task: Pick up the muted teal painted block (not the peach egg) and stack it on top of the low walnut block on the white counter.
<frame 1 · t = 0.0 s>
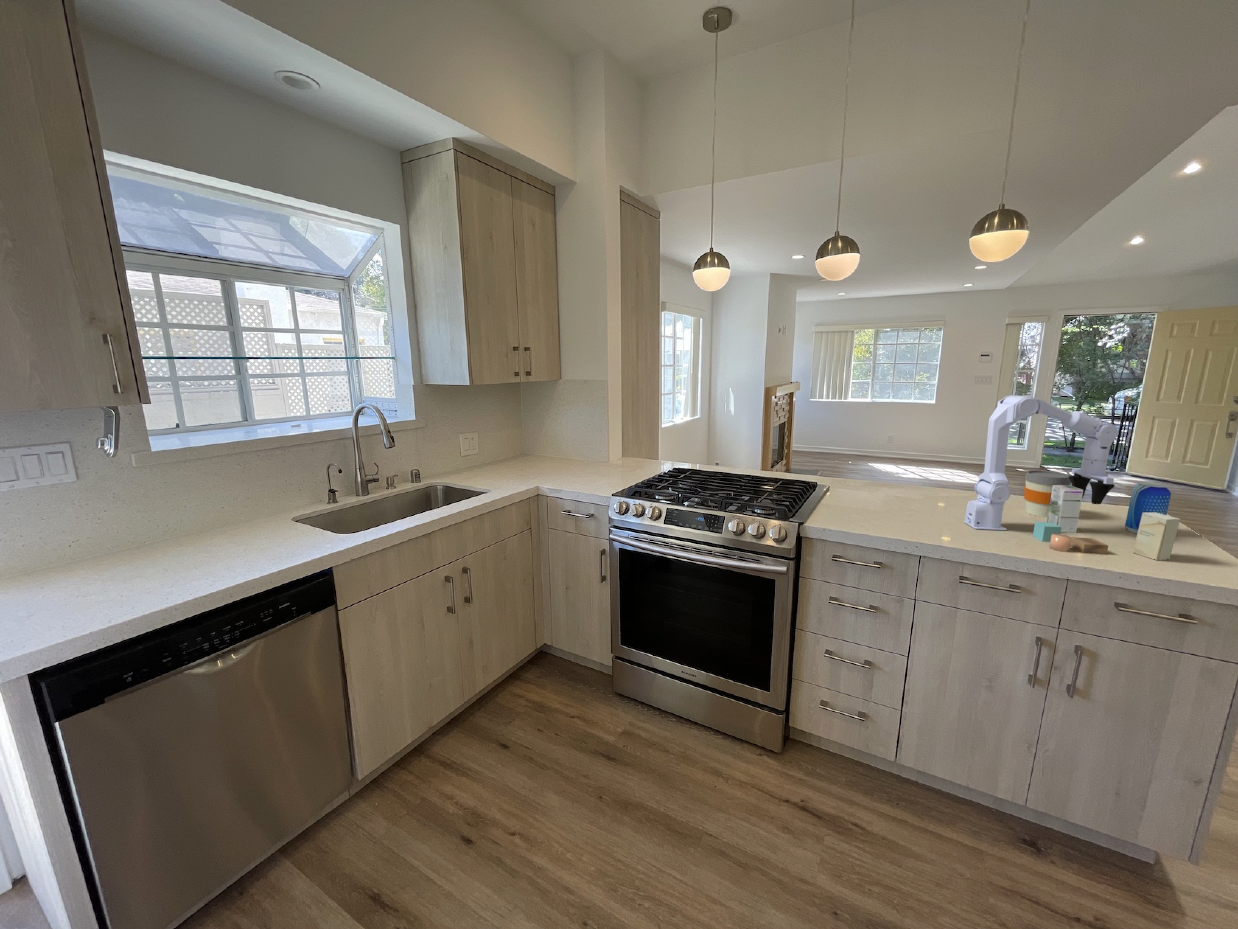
hand: (1087, 500, 158), 10 cm above the table, tool pointing down, fingers open, 7 cm apart
syrup box: (1060, 530, 161), on the table
beer can: (1142, 532, 158), on the table
walnut block: (1086, 550, 144), on the table
teal block: (1045, 539, 152), on the table
peach egg: (1059, 549, 144), on the table
reusable coffee cup: (1041, 514, 178), on the table
skincare box: (1151, 557, 138), on the table
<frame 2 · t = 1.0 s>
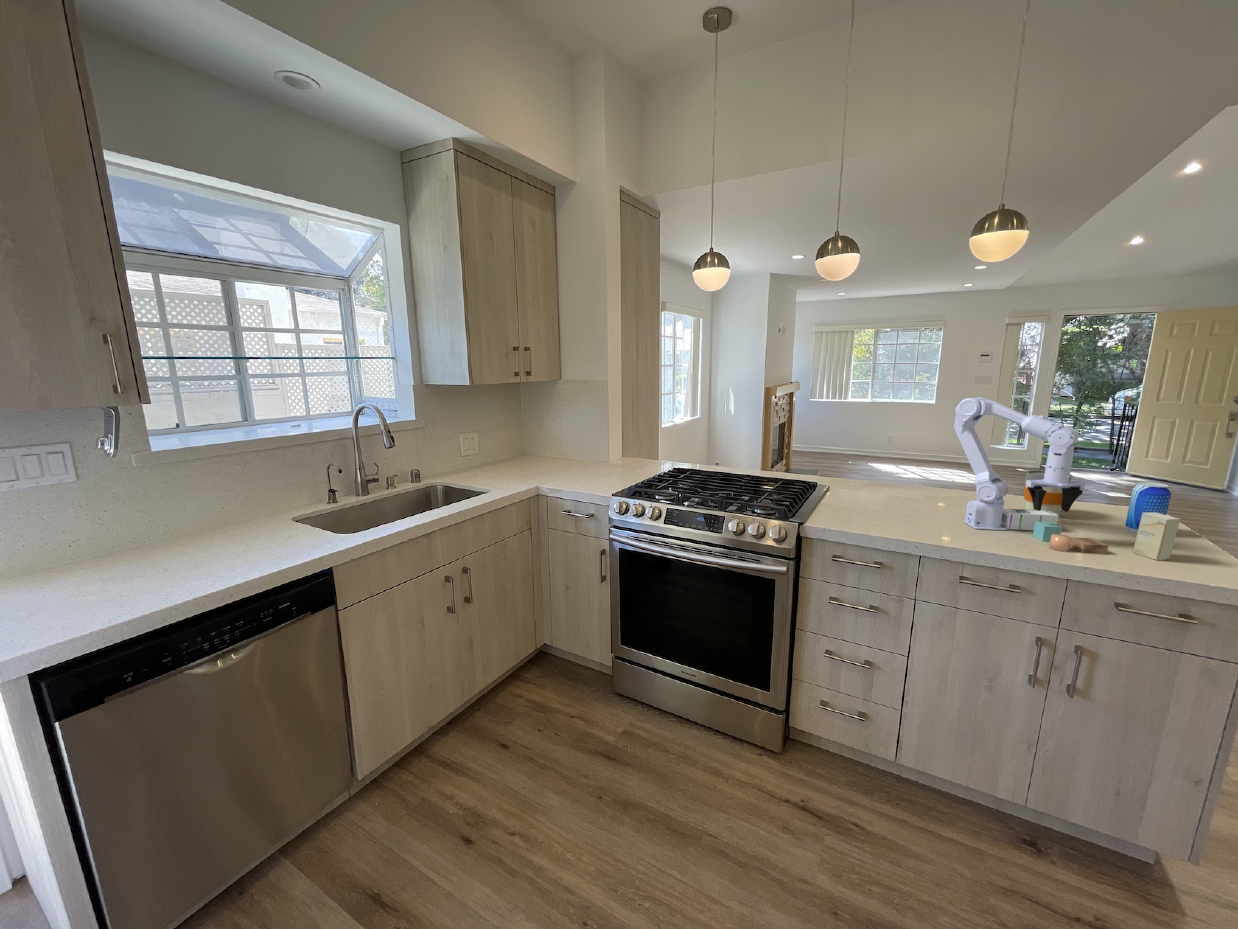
hand: (1050, 510, 151), 9 cm above the table, tool pointing down, fingers open, 7 cm apart
syrup box: (1052, 521, 161), point 3 cm above the table
everything else where it was.
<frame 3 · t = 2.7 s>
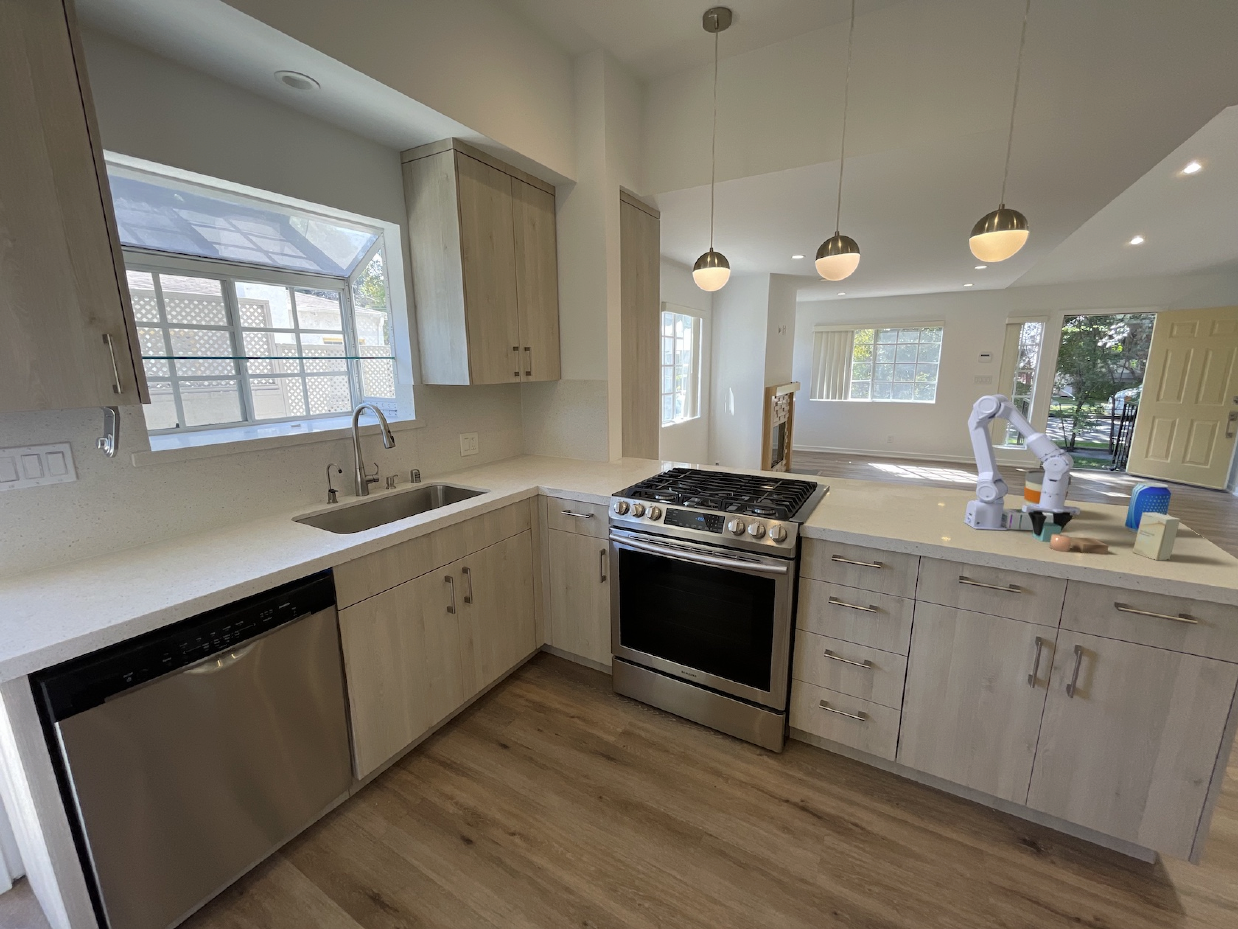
hand: (1046, 535, 152), 1 cm above the table, tool pointing down, fingers closed on teal block, 4 cm apart
teal block: (1045, 539, 152), on the table, touching gripper
everything else where it was.
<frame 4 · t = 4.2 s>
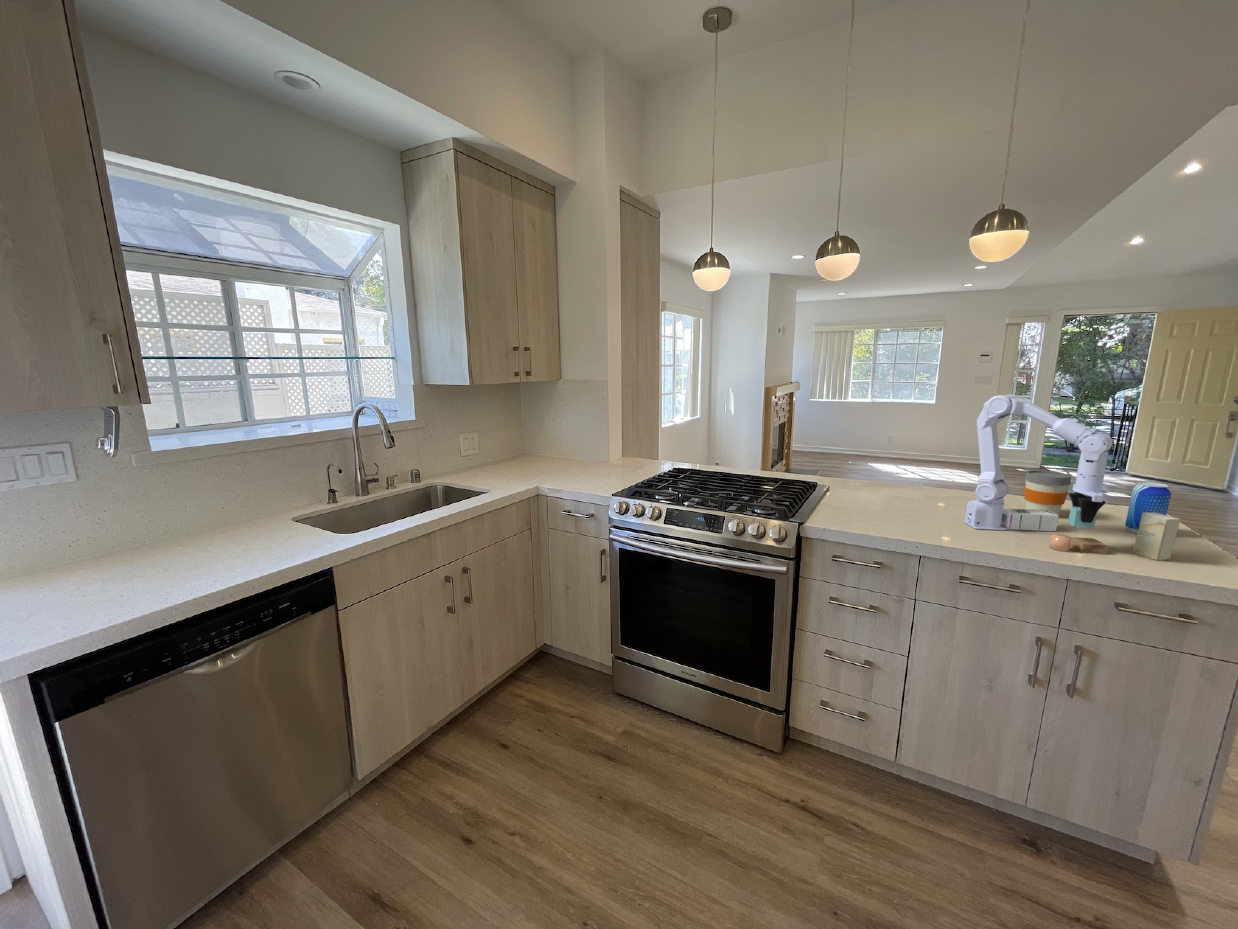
hand: (1082, 519, 144), 9 cm above the table, tool pointing down, fingers closed on teal block, 4 cm apart
teal block: (1080, 525, 144), point 7 cm above the table, touching gripper
everything else where it was.
when the fingers open (6 cm above the table, at t = 5.7 s): teal block drops 1 cm, point 3 cm above the table.
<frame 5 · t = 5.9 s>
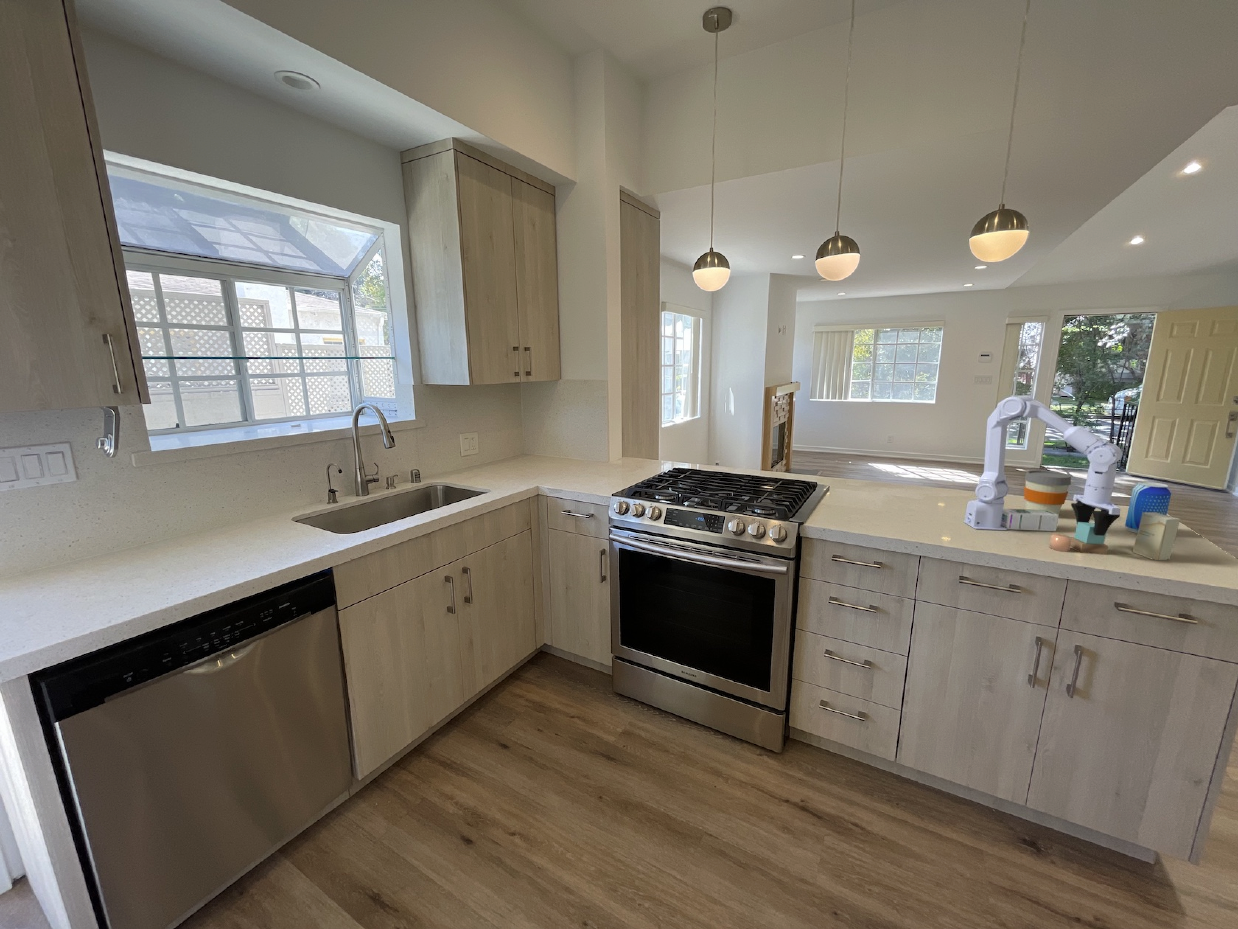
hand: (1090, 531, 143), 6 cm above the table, tool pointing down, fingers open, 6 cm apart
teal block: (1088, 541, 143), point 3 cm above the table
everything else where it was.
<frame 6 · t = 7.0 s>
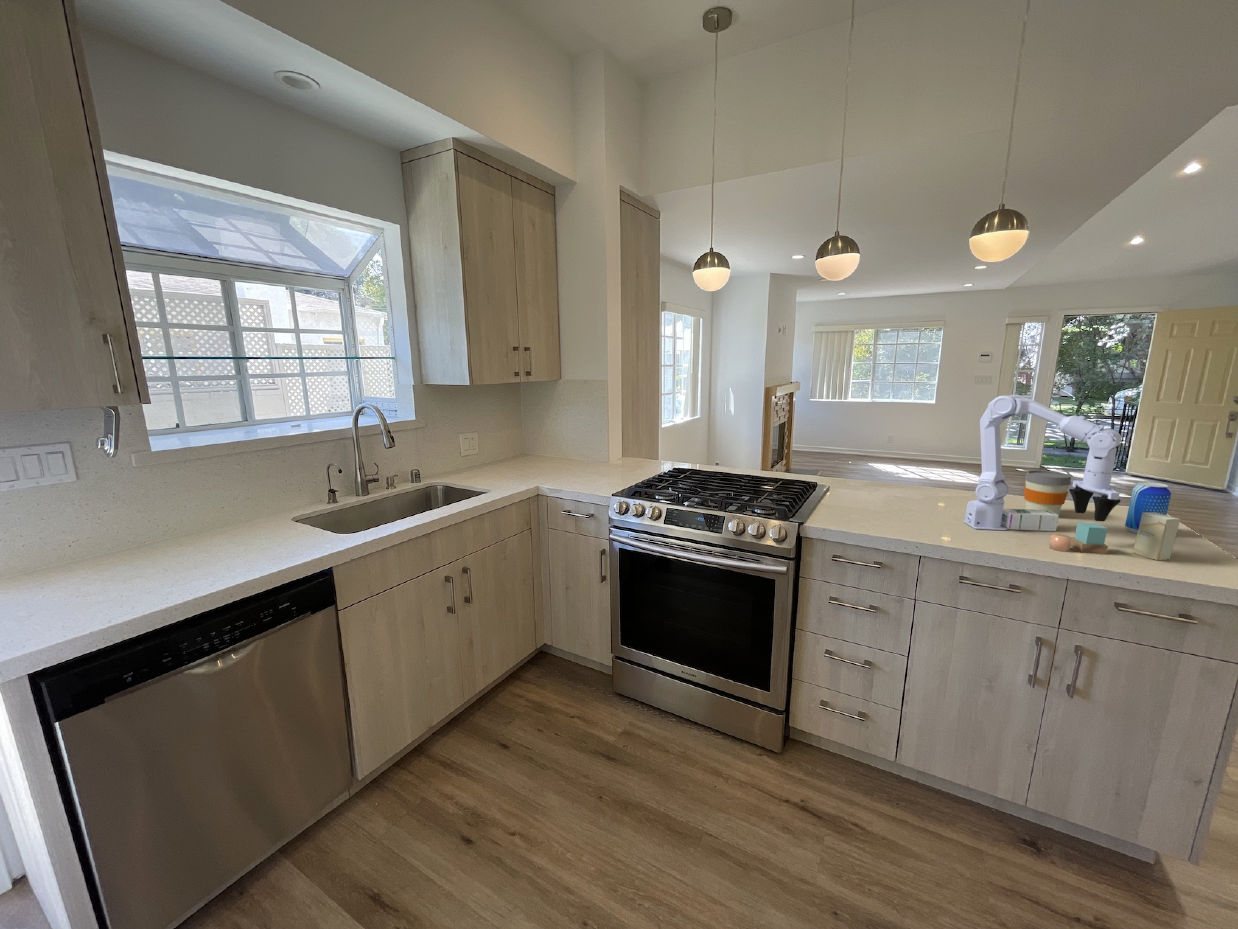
hand: (1089, 516, 143), 10 cm above the table, tool pointing down, fingers open, 7 cm apart
walnut block: (1086, 551, 144), on the table, touching teal block
teal block: (1089, 541, 143), point 3 cm above the table, touching walnut block
everything else where it was.
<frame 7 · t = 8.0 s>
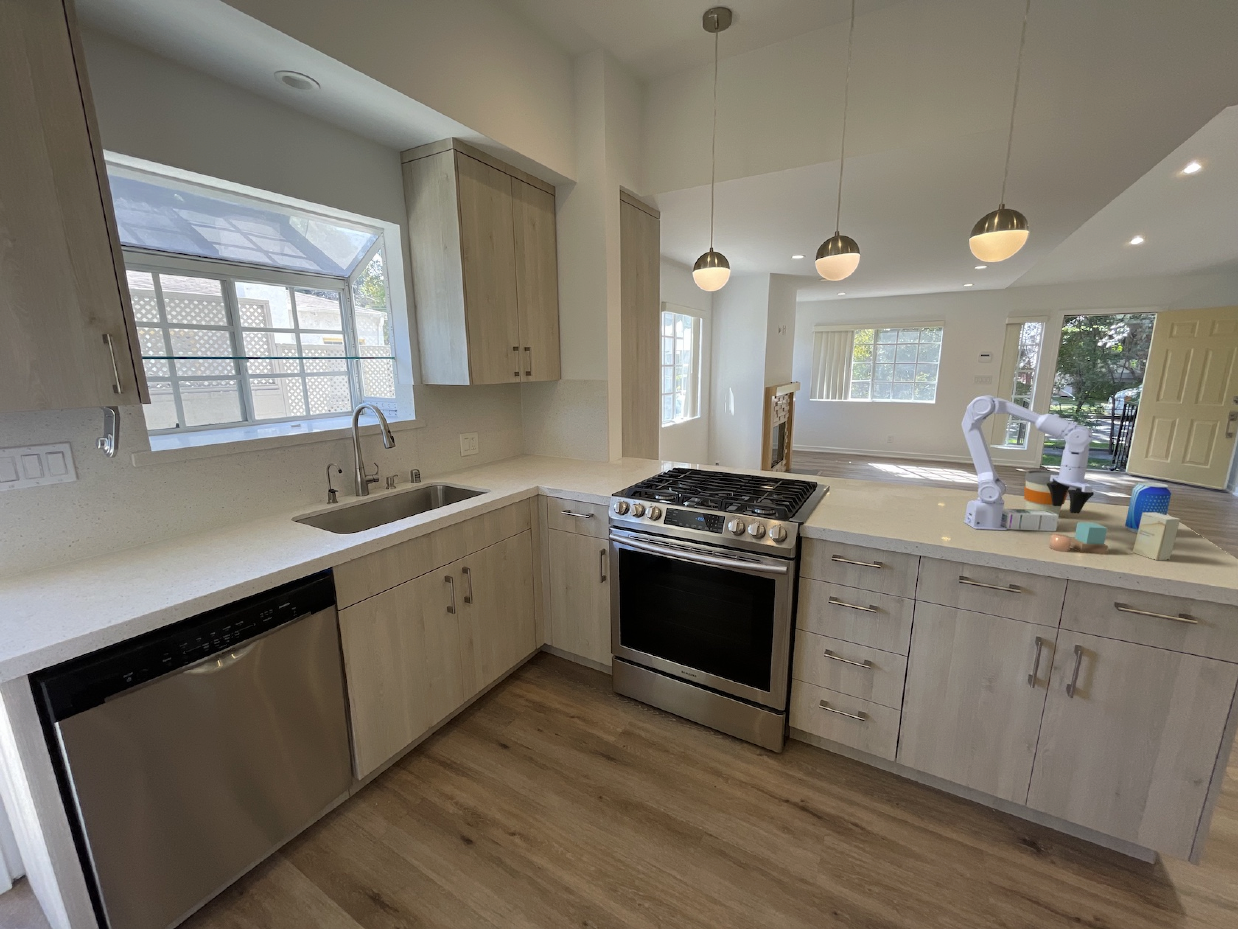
hand: (1065, 509, 150), 10 cm above the table, tool pointing down, fingers open, 7 cm apart
nothing on the table moved.
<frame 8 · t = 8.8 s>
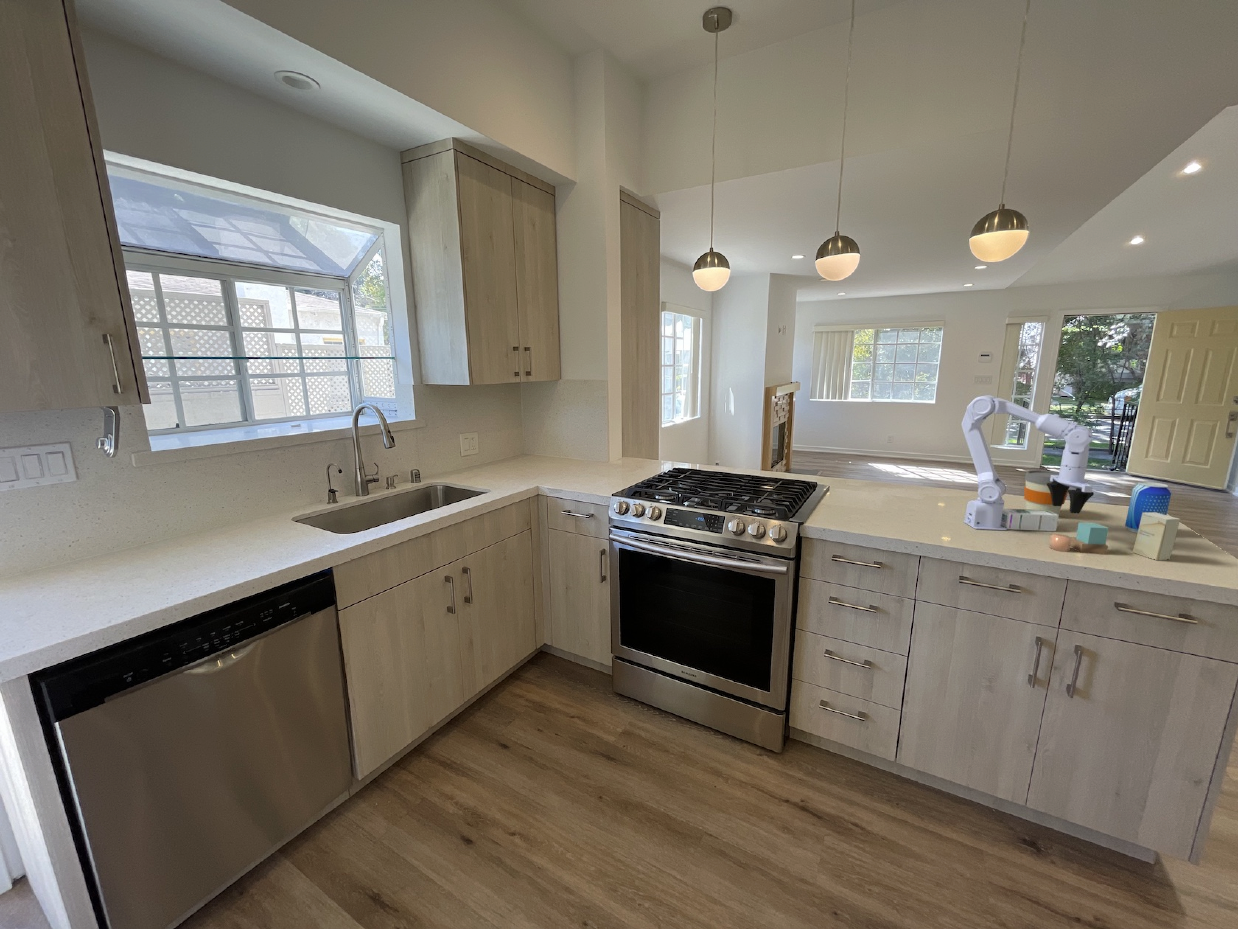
hand: (1065, 509, 150), 10 cm above the table, tool pointing down, fingers open, 7 cm apart
nothing on the table moved.
at the end: teal block 0.4 cm off-centre on the walnut block, point 3.0 cm above the walnut block's base; teal block tilted 1°; the gripper is holding nothing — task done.
